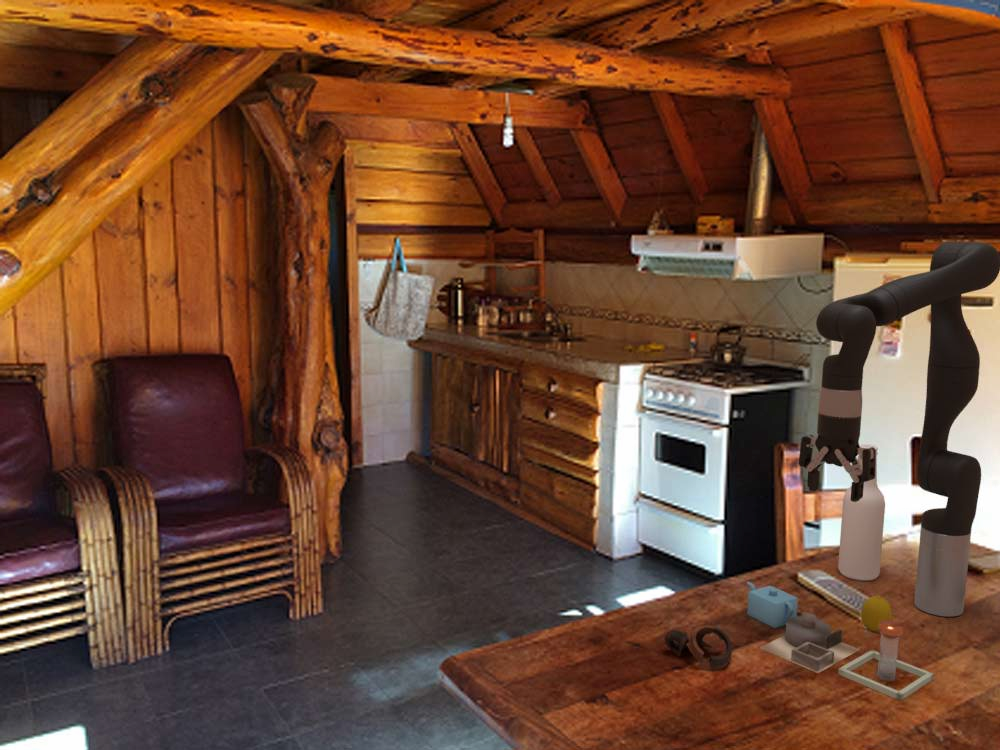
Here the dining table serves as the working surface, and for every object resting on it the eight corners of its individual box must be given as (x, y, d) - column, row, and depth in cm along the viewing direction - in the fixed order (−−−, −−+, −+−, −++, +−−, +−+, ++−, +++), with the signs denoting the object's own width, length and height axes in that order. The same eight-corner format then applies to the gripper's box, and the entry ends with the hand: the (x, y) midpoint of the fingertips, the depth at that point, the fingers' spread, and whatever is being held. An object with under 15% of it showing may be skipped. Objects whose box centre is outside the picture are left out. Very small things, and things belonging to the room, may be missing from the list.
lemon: (893, 642, 171) (896, 602, 169) (862, 639, 172) (865, 600, 170) (886, 629, 176) (890, 591, 175) (857, 626, 177) (860, 588, 176)
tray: (870, 662, 163) (871, 649, 162) (932, 687, 154) (933, 673, 154) (837, 682, 156) (838, 668, 155) (900, 709, 147) (901, 694, 147)
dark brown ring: (722, 653, 167) (737, 627, 162) (720, 697, 160) (735, 671, 154) (660, 634, 168) (672, 607, 163) (654, 676, 161) (667, 650, 156)
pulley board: (800, 633, 174) (802, 602, 173) (859, 657, 165) (862, 623, 164) (757, 654, 165) (759, 621, 164) (817, 681, 156) (819, 646, 155)
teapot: (734, 615, 182) (736, 580, 181) (756, 609, 185) (758, 574, 184) (780, 638, 172) (782, 602, 171) (802, 631, 175) (804, 595, 174)
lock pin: (880, 672, 157) (885, 618, 156) (901, 681, 154) (907, 626, 153) (869, 679, 155) (874, 624, 153) (890, 688, 152) (896, 632, 150)
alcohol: (878, 584, 198) (888, 452, 193) (836, 577, 202) (845, 448, 197) (880, 570, 206) (890, 444, 201) (839, 564, 210) (848, 439, 205)
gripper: (886, 415, 163) (880, 500, 166) (816, 403, 174) (811, 483, 177) (865, 420, 158) (858, 508, 161) (794, 407, 169) (789, 490, 172)
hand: (833, 495), depth 169 cm, fingers open, 8 cm apart
